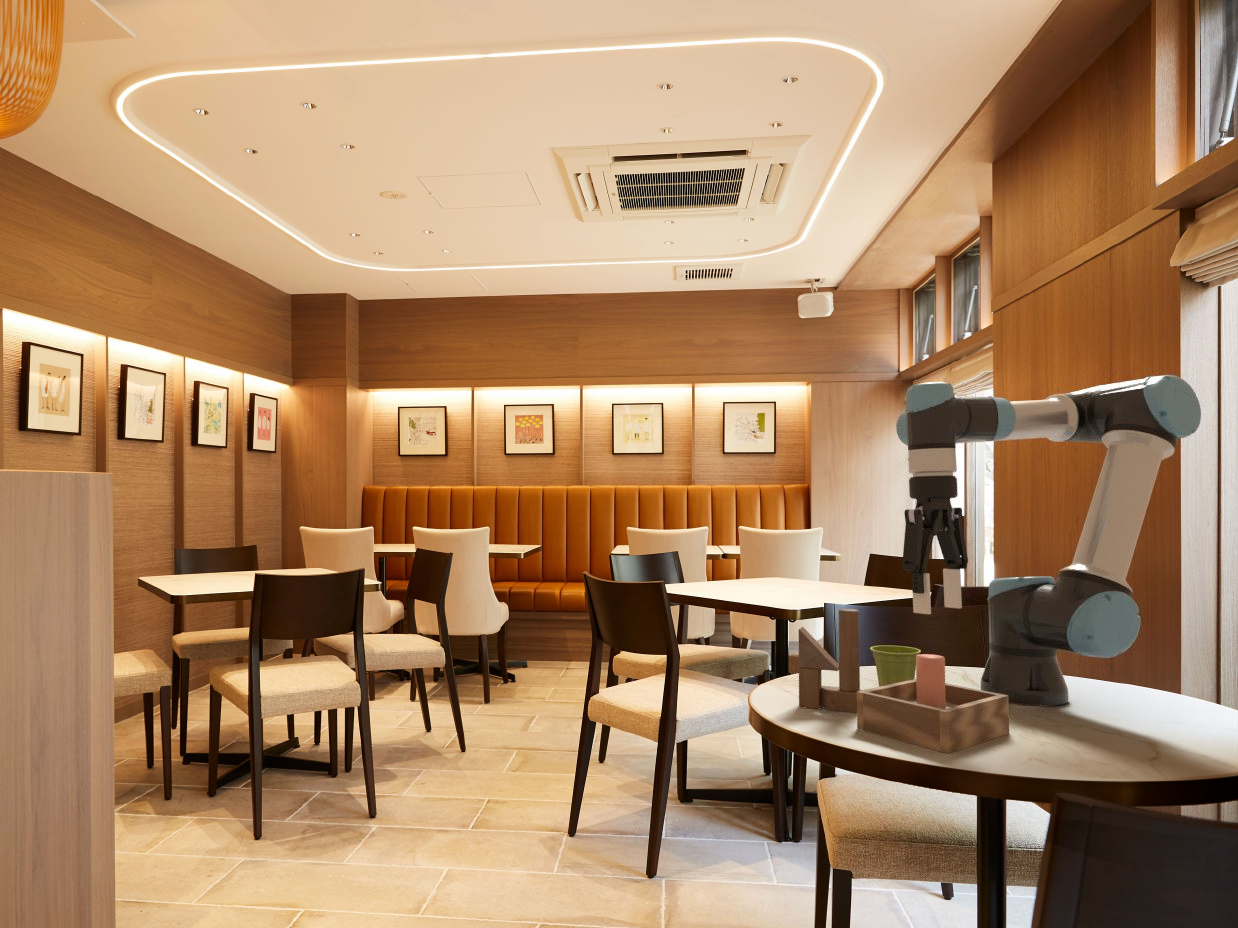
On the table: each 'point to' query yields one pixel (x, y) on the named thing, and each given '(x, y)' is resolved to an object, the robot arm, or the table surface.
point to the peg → (931, 680)
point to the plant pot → (895, 663)
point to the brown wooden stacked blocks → (831, 667)
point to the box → (933, 716)
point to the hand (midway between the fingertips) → (938, 610)
